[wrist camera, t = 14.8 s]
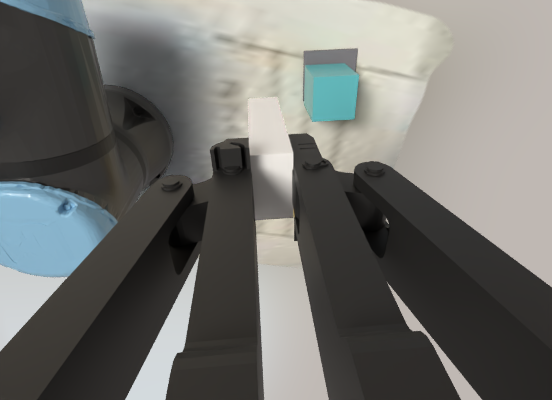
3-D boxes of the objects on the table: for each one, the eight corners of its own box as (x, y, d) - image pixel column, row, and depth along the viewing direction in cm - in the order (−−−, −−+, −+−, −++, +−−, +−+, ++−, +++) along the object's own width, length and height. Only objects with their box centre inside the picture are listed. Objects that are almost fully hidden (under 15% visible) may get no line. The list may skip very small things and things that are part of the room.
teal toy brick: (304, 104, 46) (312, 121, 40) (304, 65, 43) (313, 77, 37) (341, 102, 46) (354, 119, 40) (344, 63, 43) (358, 75, 38)
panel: (303, 101, 46) (303, 101, 46) (303, 50, 43) (304, 51, 43) (352, 98, 47) (352, 98, 47) (357, 48, 43) (357, 48, 43)
